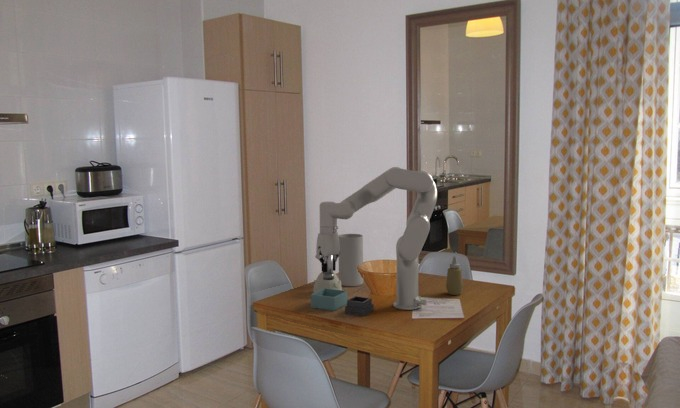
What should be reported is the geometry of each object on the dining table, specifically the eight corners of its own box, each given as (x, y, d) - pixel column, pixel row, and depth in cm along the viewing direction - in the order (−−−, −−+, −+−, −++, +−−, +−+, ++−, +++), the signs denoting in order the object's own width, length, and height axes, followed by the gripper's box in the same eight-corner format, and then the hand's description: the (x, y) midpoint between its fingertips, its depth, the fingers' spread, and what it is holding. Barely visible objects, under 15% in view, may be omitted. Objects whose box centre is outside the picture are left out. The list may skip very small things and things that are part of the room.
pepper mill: (329, 277, 251) (329, 248, 250) (336, 279, 247) (336, 249, 246) (321, 278, 248) (320, 249, 247) (327, 280, 244) (327, 251, 243)
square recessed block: (373, 310, 241) (373, 298, 241) (364, 316, 233) (364, 303, 233) (355, 307, 245) (354, 295, 245) (345, 313, 238) (345, 300, 237)
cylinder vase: (356, 279, 296) (355, 233, 293) (367, 285, 285) (367, 236, 282) (334, 282, 291) (334, 235, 288) (345, 288, 279) (344, 238, 277)
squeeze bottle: (444, 295, 264) (444, 257, 262) (447, 290, 271) (447, 254, 269) (461, 296, 261) (461, 258, 259) (464, 292, 268) (464, 255, 266)
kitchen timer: (347, 292, 271) (346, 262, 270) (332, 299, 260) (332, 267, 258) (323, 289, 278) (322, 259, 277) (307, 295, 267) (306, 264, 265)
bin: (347, 304, 251) (347, 291, 251) (334, 311, 241) (334, 297, 240) (324, 300, 257) (324, 288, 256) (310, 307, 247) (310, 294, 246)
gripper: (337, 227, 254) (337, 266, 256) (307, 231, 243) (308, 272, 245) (348, 228, 248) (348, 269, 250) (318, 233, 237) (319, 275, 239)
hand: (328, 270), depth 247 cm, fingers closed on pepper mill, 4 cm apart
